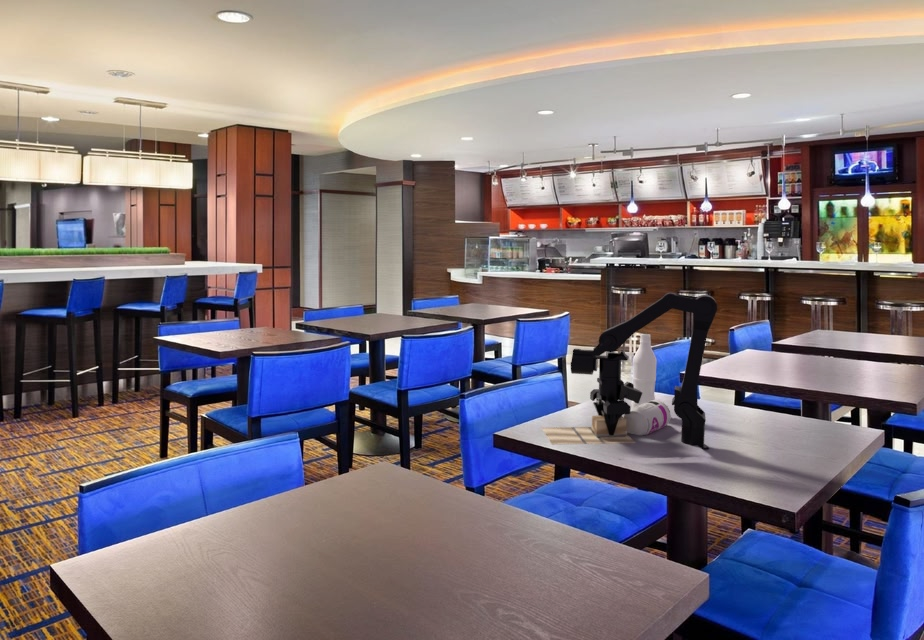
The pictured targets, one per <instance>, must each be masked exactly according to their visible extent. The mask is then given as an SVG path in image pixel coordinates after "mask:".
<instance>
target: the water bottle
mask: <svg viewBox="0 0 924 640" xmlns="http://www.w3.org/2000/svg"><path fill="white" fill-rule="evenodd" d="M651 336H652V335H651V334H649V333H648V334H647V333H641V334H640V338H639V346H638V349H637V351H635V354H634V356H633V359H632V384H633V385H634V388H635V389H637V390H639V391H641V392H642V396H641V398H640V401H639V403H635V402H634V401H631V408H634V407H636V406H639V405H641V404H644V403H646V402H649V401H651V400H656V398H655V397H656V396H655V387H656V383H657V382H656V381H657V364H658V360H657V357H656V355H655V353H654V351H653V348H652V345H651V343H652V340H651Z"/></svg>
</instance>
